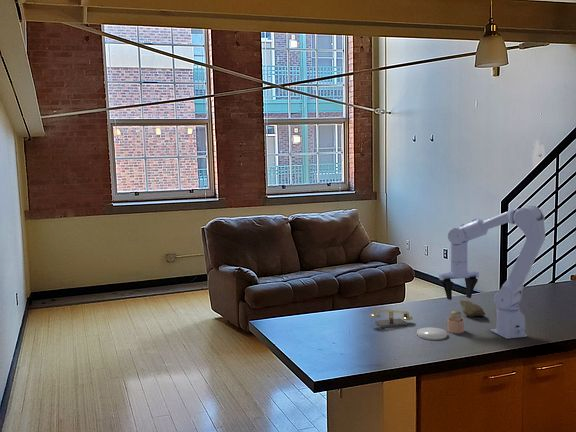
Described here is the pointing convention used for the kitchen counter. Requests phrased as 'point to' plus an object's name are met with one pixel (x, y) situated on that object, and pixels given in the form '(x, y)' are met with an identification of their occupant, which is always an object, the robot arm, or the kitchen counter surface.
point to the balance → (391, 318)
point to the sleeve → (455, 326)
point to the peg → (455, 316)
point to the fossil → (471, 308)
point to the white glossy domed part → (432, 333)
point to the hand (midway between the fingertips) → (459, 298)
